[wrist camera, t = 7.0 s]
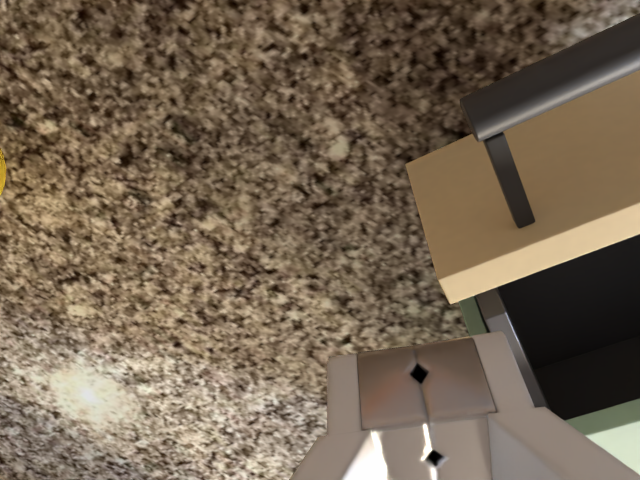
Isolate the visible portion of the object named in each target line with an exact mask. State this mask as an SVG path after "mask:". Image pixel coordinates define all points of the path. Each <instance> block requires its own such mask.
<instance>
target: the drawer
mask: <svg viewBox="0 0 640 480" xmlns="http://www.w3.org/2000/svg"><path fill="white" fill-rule="evenodd" d="M460 104H461V108H462V110H463V113H464V115H465V118H466V120H467V123H468V125H469V127H470V129H471V131H472V134H471V135H468V136H466V137H464V138H462V139H460V140H457V141H455V142H453V143H451V144H449V145H446V146H444V147H442V148H440V149H438V150H435V151H433V152H431V153H429V154H427V155H424V156H422V157H420V158H418V159H416V160H413V161H411V162H409V163H407V164H405V166H406V169H407V173H408V176H409V180H410V183H411V187H412V191H413V194H414V198H415V201H416V205H417V208H418V212H419V215H420V219H421V222H422V226H423V230H424V233H425V237H426V240H427V244H428V247H429V251H430V254H431V258H432V262H433V265H434V269H435V272H436V276H437V279H438V282H439V284H440V286H441V288H442V290H443V292H444V293H445V295H446V297H447V299H448V301H449V303H450V304H452V303H455V302H458V301H461V300H463V299H466V298H469V297H471V296H474V295H476V298H477V301H478V304H479V306H480V309H481V312H482V315H483V317H484V320H485V322H486V324H487V326H488V328H489V330H490V333H491V332H497V331H502V332H503V333H504V334H505V336H506V338H507V341H508V343H509V346H510V348H511V351H512V353H513V355H514V358H515V360H516V363H517V365H518V368H519V370H520V373H521V375H522V377H523V380H524V382H525V385H526V387H527V390H528V392H529V395H530V397H531V399H532V402H533V404H534V407H535V408H536V407H546V408H547V409H549V410H550V411H551V412H553V413H554V414H556V415H557V416H558V417H560V418H561V419H563V420H564V421H565V420H568V419H572V418H575V417H578V416H582V415H585V414H589V413H592V412H595V411H599V410H602V409H606V408H609V407H612V406H616V405H619V404H623V403H626V402H629V401H633V400H636V399H640V13H639V14H637V15H635V16H633V17H631V18H629V19H627V20H625V21H623V22H621V23H618V24H616V25H614V26H612V27H610V28H608V29H606V30H604V31H602V32H600V33H597V34H595V35H593V36H591V37H589V38H587V39H585V40H583V41H581V42H578V43H576V44H574V45H572V46H570V47H568V48H566V49H564V50H562V51H560V52H557V53H555V54H553V55H551V56H549V57H547V58H545V59H543V60H541V61H539V62H536V63H534V64H532V65H530V66H528V67H526V68H524V69H522V70H520V71H517V72H515V73H513V74H511V75H509V76H507V77H505V78H503V79H501V80H499V81H496V82H494V83H492V84H490V85H488V86H486V87H484V88H482V89H480V90H477V91H475V92H473V93H471V94H469V95H467V96H465V97H463V98H461V99H460Z"/></svg>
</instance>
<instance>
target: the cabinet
mask: <svg viewBox="0 0 640 480" xmlns="http://www.w3.org/2000/svg"><path fill="white" fill-rule="evenodd" d="M458 302H459V305H460V308H461V311H462V314H463V318H464V321H465V324H466V327H467V330H468V333H469V336H470V337H471V336H473V335H479V334H485V333H490V330H489V328H488V326H487V324H486V322H485V320H484V317H483V315H482V312H481V309H480V306H479V304H478V301H477V298H476V295H474V296H471V297H469V298H466V299H463V300H461V301H458ZM565 422H567V423H568V424H569V425H571V426H572V427H574V428H575V429H576V430H578V431H579V432H581V433H582V434H583V435H585V436H586V437H588V438H589V439H590V440H592V441H593V442H595V443H596V444H597V445H599V446H600V447H602V448H603V449H604V450H606V451H607V452H609V453H610V454H611V455H613V456H614V457H616V458H617V459H618V460H620V461H621V462H622V463H624V464H625V465H627V466H628V467H629V468H631V469H632V470H634V471H635V472H636V473H638V474H639V475H640V399H636V400H633V401H629V402H626V403H623V404H619V405H616V406H612V407H609V408H606V409H602V410H599V411H595V412H592V413H589V414H585V415H582V416H578V417H575V418H572V419H568V420H565Z"/></svg>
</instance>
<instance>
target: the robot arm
mask: <svg viewBox="0 0 640 480" xmlns="http://www.w3.org/2000/svg"><path fill="white" fill-rule="evenodd" d="M289 480H640V475H639V474H638V473H636V472H635V471H634V470H632V469H631V468H629V467H628V466H627V465H625V464H624V463H622V462H621V461H620V460H618V459H617V458H616V457H614V456H613V455H611V454H610V453H609V452H607V451H606V450H604V449H603V448H602V447H600V446H599V445H597V444H596V443H595V442H593V441H592V440H590V439H589V438H588V437H586V436H585V435H583V434H582V433H581V432H579V431H578V430H576V429H575V428H574V427H572V426H571V425H569V424H568V423H567V422H565V421H564V420H563V419H561V418H560V417H558V416H557V415H556V414H554V413H553V412H551V411H550V410H549V409H547V408H546V407H536V408H535V407H534V404H533V402H532V399H531V397H530V395H529V392H528V390H527V387H526V385H525V382H524V380H523V377H522V375H521V373H520V370H519V368H518V365H517V363H516V360H515V358H514V355H513V353H512V351H511V348H510V346H509V343H508V341H507V338H506V336H505V334H504V333H503V332H502V331H497V332H491V333H485V334H479V335H473V336H471V337H470V336H467V337H461V338H455V339H448V340H442V341H436V342H430V343H424V344H417V345H413V346H406V347H398V348H390V349H382V350H375V351H367V352H359V353H358V354H357V353H356V354H348V355H340V356H332V357H329V359H328V363H327V435H326V436H320V437H318V438H317V440H316V441H315V443H314V444H313V446H312V447H311V449H310V450H309V451H308V453H307V454H306V456H305V457H304V459H303V460H302V462H301V463H300V465H299V466H298V468H297V469H296V471H295V472H294V473H293V475H292V476H291V478H290V479H289Z"/></svg>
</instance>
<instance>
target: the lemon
mask: <svg viewBox="0 0 640 480" xmlns="http://www.w3.org/2000/svg"><path fill="white" fill-rule="evenodd" d="M5 177H6V165H5V160H4V155H3V153H2V151H1V149H0V195H1V193H2V191H3V188H4V186H5Z"/></svg>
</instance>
